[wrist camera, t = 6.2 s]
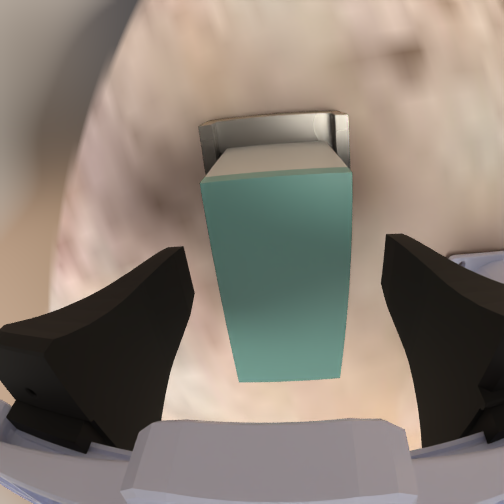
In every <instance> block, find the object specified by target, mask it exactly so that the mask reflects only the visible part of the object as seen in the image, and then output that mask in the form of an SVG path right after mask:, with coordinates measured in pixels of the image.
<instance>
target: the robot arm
mask: <svg viewBox="0 0 504 504" xmlns="http://www.w3.org/2000/svg"><path fill="white" fill-rule="evenodd" d="M462 261H463V262H462ZM460 262H462V264H461V265H459V263H460ZM381 285H382V289H383V293H384V297H385V300H386V304H387V307H388V310H389V312H390V314H391V317H392V319H393V322H394V324H395V327H396V329H397V332H398V334H399V337H400V339H401V342H402V344H403V347H404V349H405V352H406V355H407V358H408V361H409V365H410V369H411V374H412V378H413V382H414V388H415V393H416V399H417V405H418V411H419V420H420V428H421V440H422V448H421V449H417V450H412V451H409V446H408V441H407V437H406V432H405V429H402V428H400V427H398V426H396V425H394V424H392V423H390V422H388V421H385V420H382V419H358V418H347V419H337V420H324V421H309V422H284V423H239V422H214V421H198V420H167V421H161V418H162V411H163V406H164V400H165V394H166V389H167V385H168V380H169V375H170V371H171V368H172V365H173V361H174V359H175V356H176V353H177V350H178V348H179V345H180V342H181V339H182V337H183V334H184V331H185V328H186V326H187V323H188V320H189V317H190V314H191V309H192V304H193V299H194V294H195V293H194V289H193V284H192V280H191V276H190V272H189V268H188V264H187V259H186V255H185V251H184V246H182V247H168V248H166V249H164V250H162V251H160V252H158V253H157V254H155V255H154V256H152V257H151V258H149V259H148V260H146V261H145V262H143V263H142V264H140V265H139V266H138V267H136V268H135V269H133V270H132V271H130V272H129V273H127V274H125V275H124V276H122V277H121V278H119V279H118V280H116V281H115V282H113V283H111V284H110V285H108V286H107V287H105V288H103V289H101V290H100V291H98V292H96V293H94V294H92V295H90V296H88V297H86V298H84V299H82V300H80V301H77V302H75V303H73V304H70V305H68V306H66V307H64V308H61V309H59V310H56V311H53V312H50V313H47V314H44V315H41V316H39V317H35V318H32V319H27V320H23V321H19V322H15V323H11V324H6V325H4V326H3V327H2V328H1V329H0V381H1V382H2V383H3V385H4V386H5V387H6V388H7V390H8V391H9V392H10V393H11V395H12V396H13V397H14V398H15V399H16V401H15V403H14V404H13V406H12V407H11V406H10V405H9V404H8V403H6V402H4V401H2V400H0V484H1V485H2V486H4V487H6V488H7V489H9V490H11V491H12V492H14V493H16V494H18V495H19V496H21V497H22V498H24V499H26V500H28V501H30V502H31V503H33V504H504V251H496V252H484V253H472V254H460V255H452V256H450V257H449V258H446V257H444V256H442V255H441V254H439V253H437V252H435V251H434V250H432V249H430V248H429V247H427V246H425V245H423V244H422V243H420V242H418V241H416V240H415V239H413V238H411V237H409V236H407V235H404V234H386V241H385V252H384V262H383V271H382V279H381Z"/></svg>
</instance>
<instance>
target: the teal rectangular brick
mask: <svg viewBox="0 0 504 504" xmlns="http://www.w3.org/2000/svg"><path fill="white" fill-rule="evenodd" d="M200 188H201V194H202V199H203V205H204V211H205V217H206V222H207V228H208V233H209V239H210V244H211V249H212V255H213V260H214V265H215V270H216V275H217V281H218V286H219V291H220V296H221V301H222V305H223V310H224V315H225V320H226V325H227V329H228V334H229V339H230V344H231V348H232V353H233V357H234V362H235V366H236V371H237V375H238V380H239V382H281V381H303V380H319V379H332V378H340V373H341V366H342V357H343V349H344V340H345V330H346V319H347V308H348V295H349V280H350V263H351V240H352V172H351V170H350V169H349V168H348V167H347V166H346V164H345V163H344V162H343V161H342V160H341V159H340V157H339V156H338V155H337V154H336V153H335V152H334V150H333V149H332V148H331V147H330V146H329V145H328V144H327V142H326V141H316V142H297V143H281V144H268V145H256V146H246V147H236V148H227V149H226V150H225V152H224V153H223V154H222V155H221V157H220V158H219V159H218V160H217V162H216V163H215V164H214V166H213V167H212V168H211V169H210V171H209V172H208V173H207V175H206V176H205V177H204V178H203V180H202V181H201V182H200Z"/></svg>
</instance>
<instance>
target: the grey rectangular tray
mask: <svg viewBox="0 0 504 504" xmlns="http://www.w3.org/2000/svg"><path fill="white" fill-rule="evenodd" d="M198 127H199V134H200V141H201V147H202V154H203V160H204V167H205V173H206V175H207V173H208V172H209V171H210V169H211V168H212V167H213V166H214V164H215V163H216V162H217V160H218V159H219V158H220V157H221V155H222V154H223V153H224V152H225V150H226V149H227V148H236V147H246V146H256V145H268V144H281V143H297V142H316V141H326V142H327V144H328V145H329V146H330V147H331V148H332V149H333V150H334V152H335V153H336V154H337V155H338V156H339V157H340V159H341V160H342V161H343V162H344V163H345V164H346V166H347V167H348V168H349V169H350V143H349V120H348V115H347V114H345V113H342V112H340V111H310V112H291V113H276V114H264V115H253V116H243V117H234V118H226V119H218V120H211V121H208V122H206V123H204V124H202V125H200V126H198Z"/></svg>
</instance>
